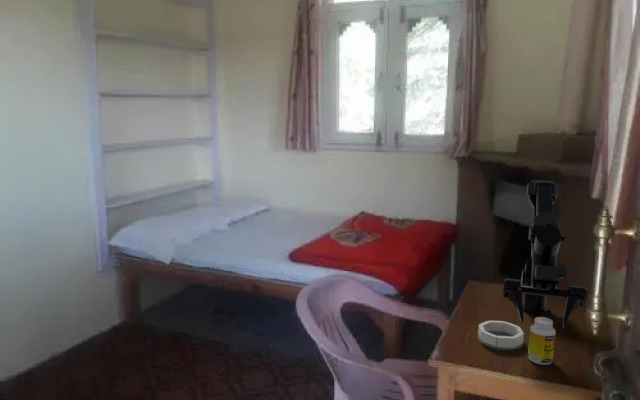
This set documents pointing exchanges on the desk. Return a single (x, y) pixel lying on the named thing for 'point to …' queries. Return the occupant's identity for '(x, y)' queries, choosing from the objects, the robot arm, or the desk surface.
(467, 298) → the desk surface
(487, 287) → the desk surface
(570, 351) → the desk surface
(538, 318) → the supplement bottle
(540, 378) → the desk surface
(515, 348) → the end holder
